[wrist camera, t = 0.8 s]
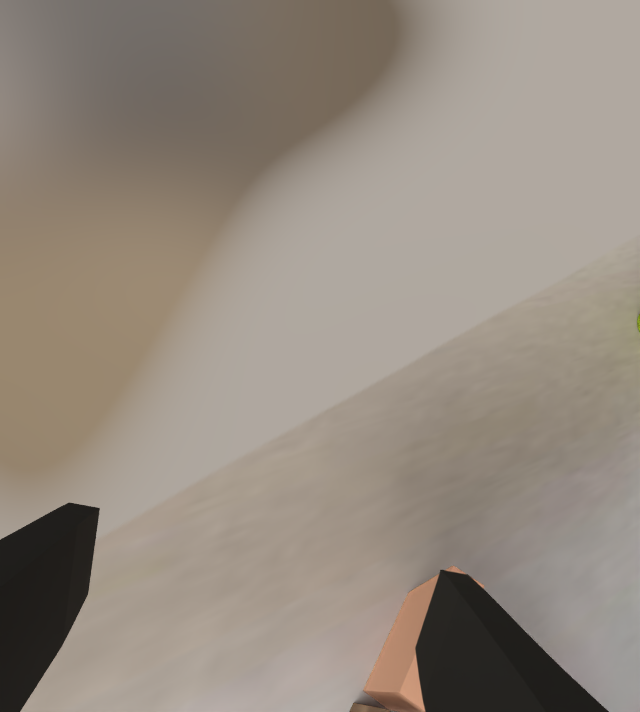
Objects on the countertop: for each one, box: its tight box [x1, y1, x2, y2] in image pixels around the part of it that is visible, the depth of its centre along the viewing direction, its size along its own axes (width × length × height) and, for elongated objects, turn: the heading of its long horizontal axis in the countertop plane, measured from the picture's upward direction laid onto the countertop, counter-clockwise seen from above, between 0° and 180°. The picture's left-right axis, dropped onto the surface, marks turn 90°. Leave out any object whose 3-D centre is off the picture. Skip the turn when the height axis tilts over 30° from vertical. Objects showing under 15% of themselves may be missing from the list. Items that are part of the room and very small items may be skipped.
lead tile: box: [363, 566, 484, 712], centre depth 21 cm, size 1×5×7 cm, turn 148°
